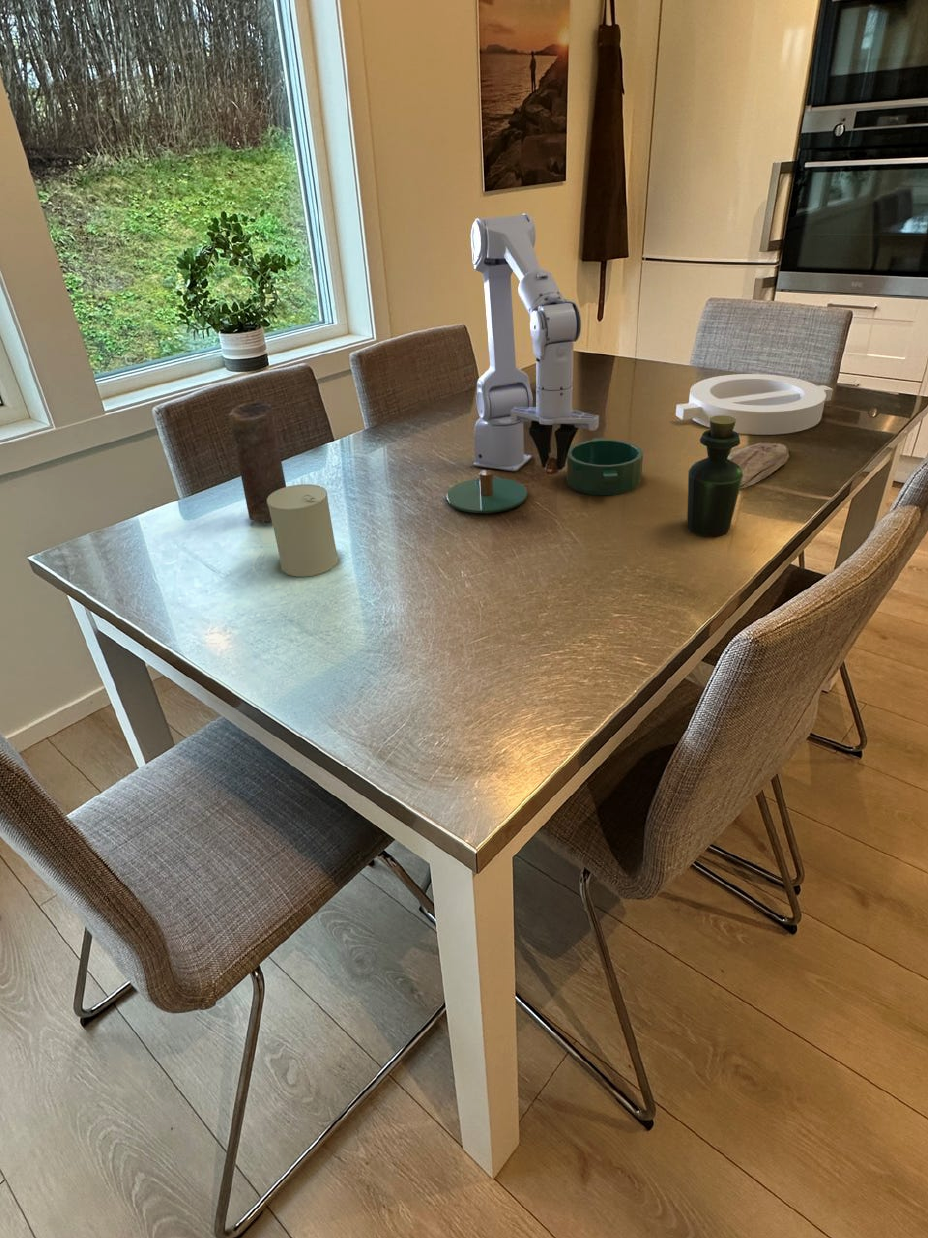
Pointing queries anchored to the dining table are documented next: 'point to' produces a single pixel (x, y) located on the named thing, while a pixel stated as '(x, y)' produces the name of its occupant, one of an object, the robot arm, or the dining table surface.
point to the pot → (604, 467)
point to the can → (303, 529)
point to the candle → (257, 456)
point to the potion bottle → (714, 481)
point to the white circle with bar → (757, 403)
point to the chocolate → (551, 465)
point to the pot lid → (486, 494)
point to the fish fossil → (759, 461)
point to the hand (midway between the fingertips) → (553, 466)
